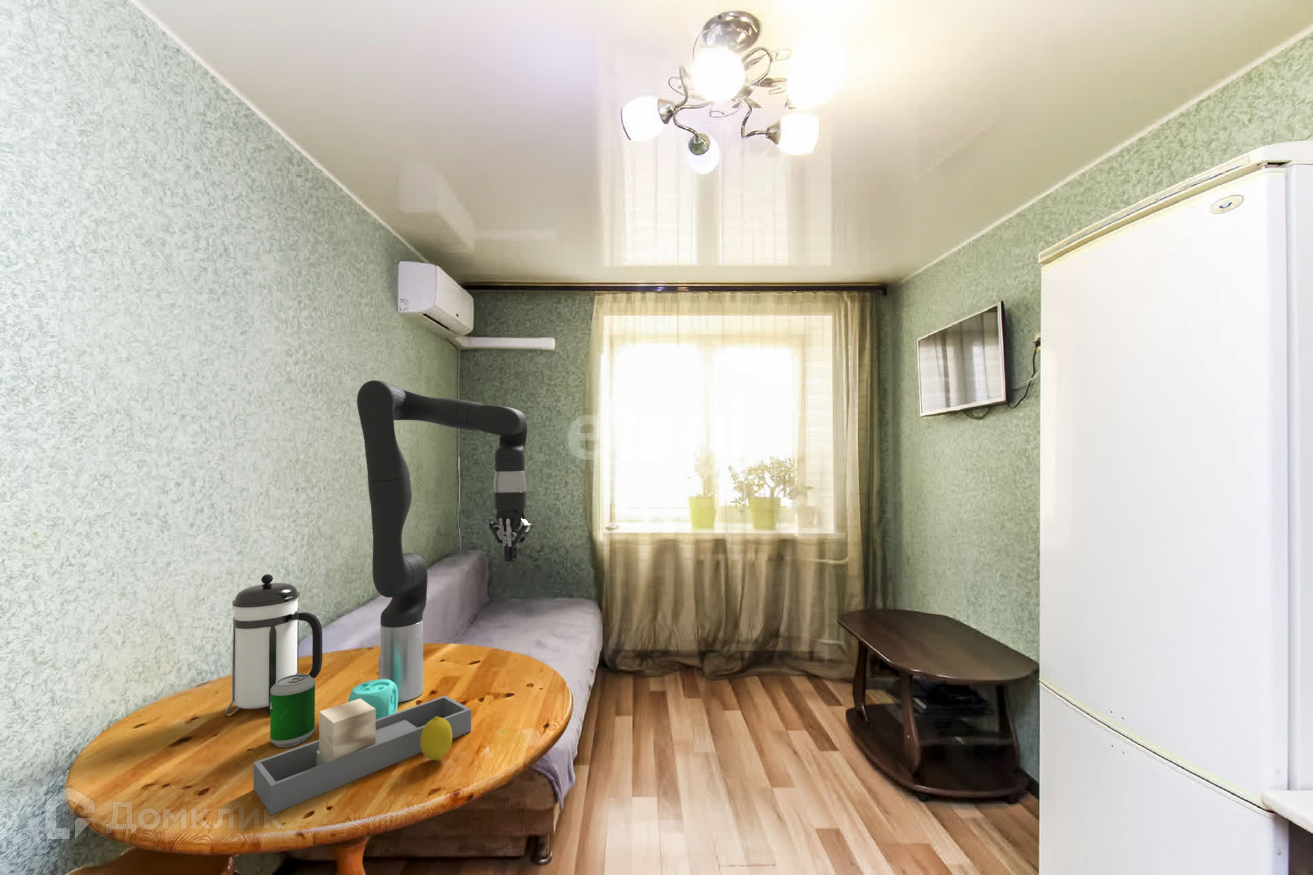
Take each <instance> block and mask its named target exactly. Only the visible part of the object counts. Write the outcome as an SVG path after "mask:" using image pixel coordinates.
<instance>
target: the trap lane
mask: <svg viewBox="0 0 1313 875" xmlns="http://www.w3.org/2000/svg"><path fill="white" fill-rule="evenodd" d="M437 716H438V717H439V718H444V719H446V720H447V721H448V722H449V724H450V726H451V729H452V738H455V739H457V738H458V737H457V736H460V735H462V734H464V735H466V734H465V733H467V732H469V733H471V732H472V709H471V708H469V707H467V706H465V705H464V704H463V703H460V702H458V701H456V700H455V699H453V698H451V697H449V696H447V695H442V696H440V697H437V698H434V699H432V700H429V701H428V700H427V701H425V702H422V703H420V704H418V705H415V706H411V707H409V708H406V709H402V710H400V711H397V712H396V713H394V714H391V715H388V716H385V717H382V718H379V719H377V720H376V744H374V745H371V746H369V747H366V748H363V749H361V750H358V751H355V752H353V753H350V754H348V755H345V756H342V757H340V758H337V759H334V760H332V761H329V762H327V761H326V760H325V759H324V758H323V757H322V756H321V755H320V754H319V739H317V740H314V741H312V742H309V743H305V744H303V745H300V746H296V747H294V748H291V749H289V750H286V751H282V752H280V753H277V754H275V755H272V756H268V757H265V758H263V759H259V760H258V761H255V762H253V779H252V780H253V789H254V790H255V791H254V790H253V789H252V790H253V791H254V793H255V794H256V793H257V794H258V795H257V794H256V795H257V797H258V796H259V797H258V799H259V800H260V801H261V802H262V804H263V806H264V807H265V808H266V810H267V812H269V814H270V816H272V815H275V814H277V813H280V812H283V811H285V810H286V809H289V808H292V807H294V806H296V805H298V804H299V805H300V804H301V803H303V802H306V801H308V800H311V799H313V798H316V797H319V796H320V795H323V794H325V793H327V792H330V791H332V790H334V789H336V788H339V787H342V786H345V785H347V784H349V783H352V782H354V781H356V780H359V779H360V778H363V777H366V776H368V775H371V774H374V773H375V772H377V771H380V770H383V769H385V768H388V767H389V766H390V767H391V766H392V765H394V764H397V763H399V762H402V761H404V760H406V759H409V758H411V757H414V756H417V755H418V753H419V754H421V753H423V752H422V750H421V745H420V739H421V734H422V731H423V728H424V726H425V725H426V724H427V723H428V722H429V721H430V720H432V719H434V718H435V717H437ZM470 731H471V732H470ZM467 734H468V733H467ZM462 736H463V735H462ZM456 737H457V738H456ZM460 737H461V736H460Z"/></svg>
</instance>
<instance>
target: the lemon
mask: <svg viewBox="0 0 1313 875" xmlns="http://www.w3.org/2000/svg"><path fill="white" fill-rule="evenodd" d="M452 743H453V739H452V729H451V726H450V724H449V722H448V721H447V720H446V719H444V718H439V717H438V716H437V717H435V718H434V719H432V720H430V721H429V722H428V723H427V724H426V725H425V726H424V728H423V731H422V734H421V739H420V745H421V750H422V752H421V753H422V754H423V755H424V757H425V758H427V759H429V760H433V761H434V762H438V761H439V760H440V759H441V758H443V757H444V756H446V754H447V753H448V752H449V751H450V749H451V746H452Z"/></svg>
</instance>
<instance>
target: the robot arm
mask: <svg viewBox="0 0 1313 875" xmlns="http://www.w3.org/2000/svg"><path fill="white" fill-rule="evenodd" d="M356 406H357V411H358V416H359V421H360V427H361V431H362V436H363V440H364V441H363V442H364V450H365V451H364V452H365V462H366V471H367V485H368V486H367V487H368V496H369V502H370V511H371V512H370V513H371V530H372V580H373V581H372V582H373V585H374V587H375V589H376V591H377V592H378V593H379V595H381V596H382V597H384V598H387V599H388V598H389V599H390V598H391V600H390V602H389V604H388V605H387V606H386V607H385V608H384V609H383V610H382V611H381V614H380V621H379V622H380V654H379V655H378V679H388V680H391V681H393V682H394V683H395V684H396V685H397V688H398V703H403V702H407V701H411V700H413V699H416V698H417V697H419V696H421V695H422V694H423V690H424V689H423V688H424V687H423V686H424V683H423V681H424V631H423V630H424V629H423V628H424V624H423V622H424V617H423V616H424V611H425V609H426V606H427V600H428V599H427V598H428V596H427V595H428V577H429V576H428V567H427V564H426V561H425V559H424V558H423V557H422V556H421V555H420V554H418V553H415V552H405V553H404V552H403V551H404V550H403V540H402V539H403V530H404V526H405V523H406V520H407V517H408V514H409V511H410V508H411V505H412V499H413V498H412V497H413V495H412V494H413V493H412V484H411V481H412V480H411V475H410V469H409V466H408V464H407V461H406V460H405V456H404V455H403V453H402V451H401V448H400V446H399V445H398V441H397V437H396V432H395V422H394V421H419V422H428V423H433V424H437V425H440V426H445V427H448V428H455V429H460V430H466V431H473V432H484V433H487V434H493V435H497V436H499V443H498V448H497V449H496V450H495V455H494V478H493V479H494V480H493V507H494V510H495V511H496V514H495V519H494V520H493V521H491V522H489V523H488V527H489V529H490V530H491V532H492V534H493V536H494V538H495V540H496V542H497V543H498V544H501V545H502V546H503V551H504V552H503V557H504V558H503V559H504V562H505V563H508V564H509V563H515V562H516V561H517V560H518V546H519V545H523V544H524V542H525V541H526V538H528V536H529V534H530V532H531V530H532V529H533V527H534V526H533V524H532V523H528V521H527V520H526V516H525V509H526V508H527V478H526V472H525V471H526V465H525V464H526V462H525V460H526V459H525V458H526V457H525V449H526V444H527V439H528V437H527V436H528V423H527V418H526V416H525V414H524V412H522V411H521V410H519V409H517V408H516V409H515V408H512V407H509V406H504V405H503V406H502V405H495V404H493V405H492V404H484V403H480V402H475V401H472V400H471V401H470V400H465V399H457V398H447V397H446V398H445V397H444V398H442V397H431V396H425V395H421V394H418V393H414V392H412V391H409V390H406V389H403V388H401V387H398V386H397V385H394V384H392V383H389V382H385V381H381V380H368V381H366V382H365V383H364V384H362V385H361V387H360V388H359V391H358V392H357V395H356Z"/></svg>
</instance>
